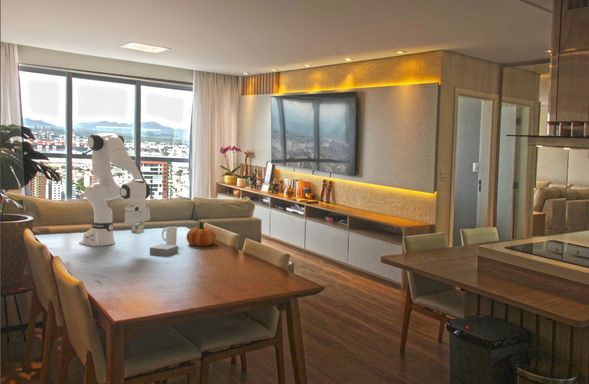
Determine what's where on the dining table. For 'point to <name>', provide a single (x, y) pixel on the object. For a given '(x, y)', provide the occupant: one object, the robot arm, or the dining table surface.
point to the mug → (170, 235)
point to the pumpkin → (201, 236)
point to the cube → (139, 229)
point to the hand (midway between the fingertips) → (137, 229)
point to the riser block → (163, 249)
